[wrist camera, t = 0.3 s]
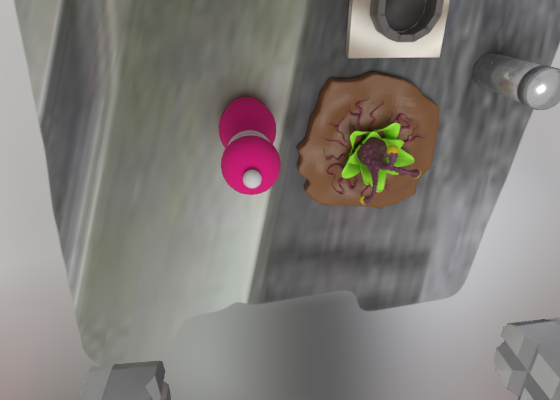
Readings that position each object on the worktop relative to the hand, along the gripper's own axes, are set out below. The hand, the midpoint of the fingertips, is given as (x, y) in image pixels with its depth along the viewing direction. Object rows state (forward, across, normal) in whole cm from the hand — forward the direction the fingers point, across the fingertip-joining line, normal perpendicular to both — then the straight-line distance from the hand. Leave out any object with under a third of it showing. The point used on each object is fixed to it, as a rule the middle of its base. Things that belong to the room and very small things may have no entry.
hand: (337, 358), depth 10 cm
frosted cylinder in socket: (+47, -32, +3) cm, 57 cm away
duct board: (+47, -18, -5) cm, 51 cm away
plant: (+48, -16, +13) cm, 52 cm away
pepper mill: (+47, +1, +8) cm, 48 cm away
